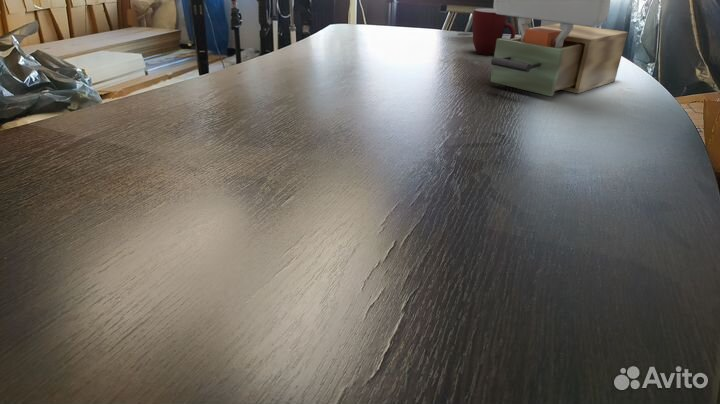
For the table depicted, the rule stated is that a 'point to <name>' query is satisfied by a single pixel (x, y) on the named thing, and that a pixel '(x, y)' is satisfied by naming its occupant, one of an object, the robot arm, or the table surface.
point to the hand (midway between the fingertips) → (540, 46)
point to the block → (540, 36)
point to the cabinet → (595, 55)
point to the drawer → (536, 65)
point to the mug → (489, 30)
